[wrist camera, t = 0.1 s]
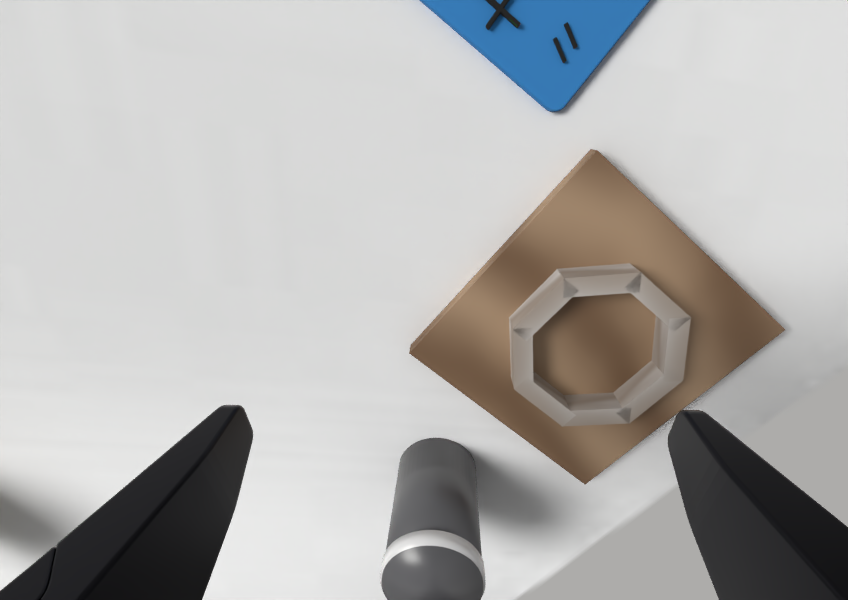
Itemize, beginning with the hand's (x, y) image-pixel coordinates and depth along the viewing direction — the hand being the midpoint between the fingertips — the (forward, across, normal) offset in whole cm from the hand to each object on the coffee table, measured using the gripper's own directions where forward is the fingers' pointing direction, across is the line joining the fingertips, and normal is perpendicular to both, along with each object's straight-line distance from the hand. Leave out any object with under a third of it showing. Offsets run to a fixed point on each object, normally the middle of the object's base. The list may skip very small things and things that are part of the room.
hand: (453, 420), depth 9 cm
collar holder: (+14, -7, +9) cm, 18 cm away
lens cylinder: (+11, +1, +19) cm, 22 cm away
